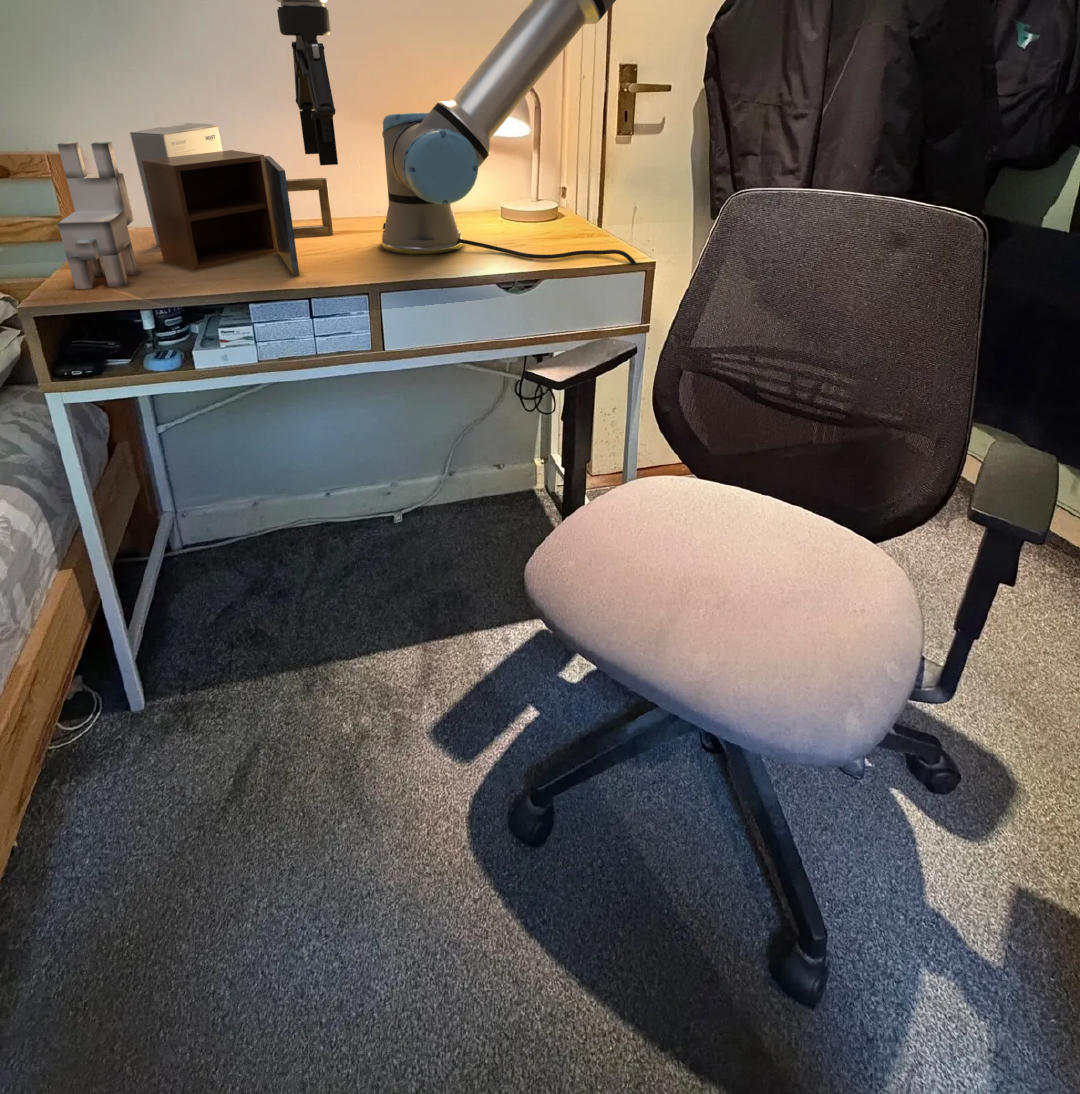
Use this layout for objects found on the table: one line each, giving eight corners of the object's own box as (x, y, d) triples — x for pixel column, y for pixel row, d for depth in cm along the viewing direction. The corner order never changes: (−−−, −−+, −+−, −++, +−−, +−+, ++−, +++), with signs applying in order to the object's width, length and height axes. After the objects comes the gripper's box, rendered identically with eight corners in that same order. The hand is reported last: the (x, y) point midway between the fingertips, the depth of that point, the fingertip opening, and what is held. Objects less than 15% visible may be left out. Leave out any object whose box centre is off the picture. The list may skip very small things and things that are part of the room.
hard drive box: (208, 230, 174) (188, 122, 163) (239, 233, 172) (220, 124, 161) (154, 245, 162) (128, 130, 151) (186, 249, 159) (162, 132, 149)
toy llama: (71, 293, 133) (32, 154, 123) (98, 266, 148) (66, 140, 137) (121, 291, 135) (87, 154, 124) (144, 264, 149) (115, 139, 139)
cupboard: (278, 252, 158) (264, 154, 149) (195, 271, 146) (173, 165, 137) (247, 245, 163) (231, 149, 154) (163, 262, 151) (141, 160, 142)
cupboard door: (320, 249, 160) (309, 154, 151) (339, 271, 146) (327, 168, 137) (278, 252, 157) (264, 156, 149) (293, 275, 143) (278, 170, 135)
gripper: (265, 5, 135) (285, 150, 147) (289, 3, 116) (311, 171, 127) (312, 5, 138) (329, 148, 149) (344, 4, 118) (360, 168, 130)
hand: (321, 159), depth 138 cm, fingers open, 13 cm apart
